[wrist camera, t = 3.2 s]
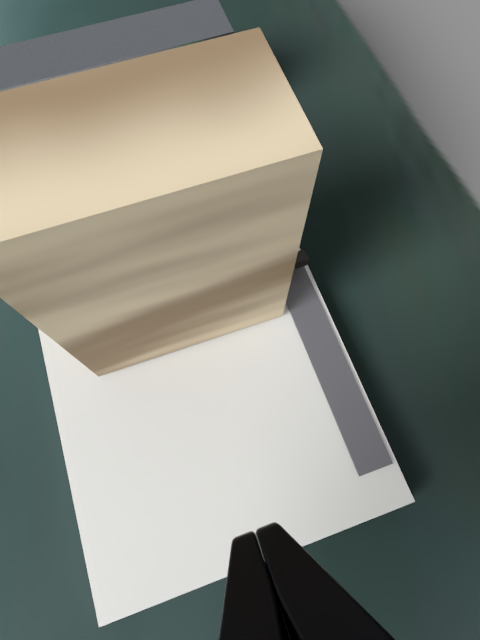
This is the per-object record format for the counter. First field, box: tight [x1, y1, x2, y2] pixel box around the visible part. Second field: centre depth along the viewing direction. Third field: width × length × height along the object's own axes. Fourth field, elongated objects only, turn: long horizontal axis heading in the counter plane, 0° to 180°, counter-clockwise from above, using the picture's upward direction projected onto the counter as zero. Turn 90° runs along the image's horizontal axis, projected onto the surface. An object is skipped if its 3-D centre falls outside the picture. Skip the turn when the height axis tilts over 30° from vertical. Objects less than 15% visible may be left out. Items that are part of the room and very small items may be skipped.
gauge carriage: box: [0, 27, 323, 377], centre depth 15 cm, size 4×10×10 cm, turn 109°
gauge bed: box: [38, 247, 415, 627], centre depth 20 cm, size 23×12×1 cm, turn 19°
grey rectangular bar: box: [0, 0, 234, 92], centre depth 21 cm, size 2×12×4 cm, turn 110°
